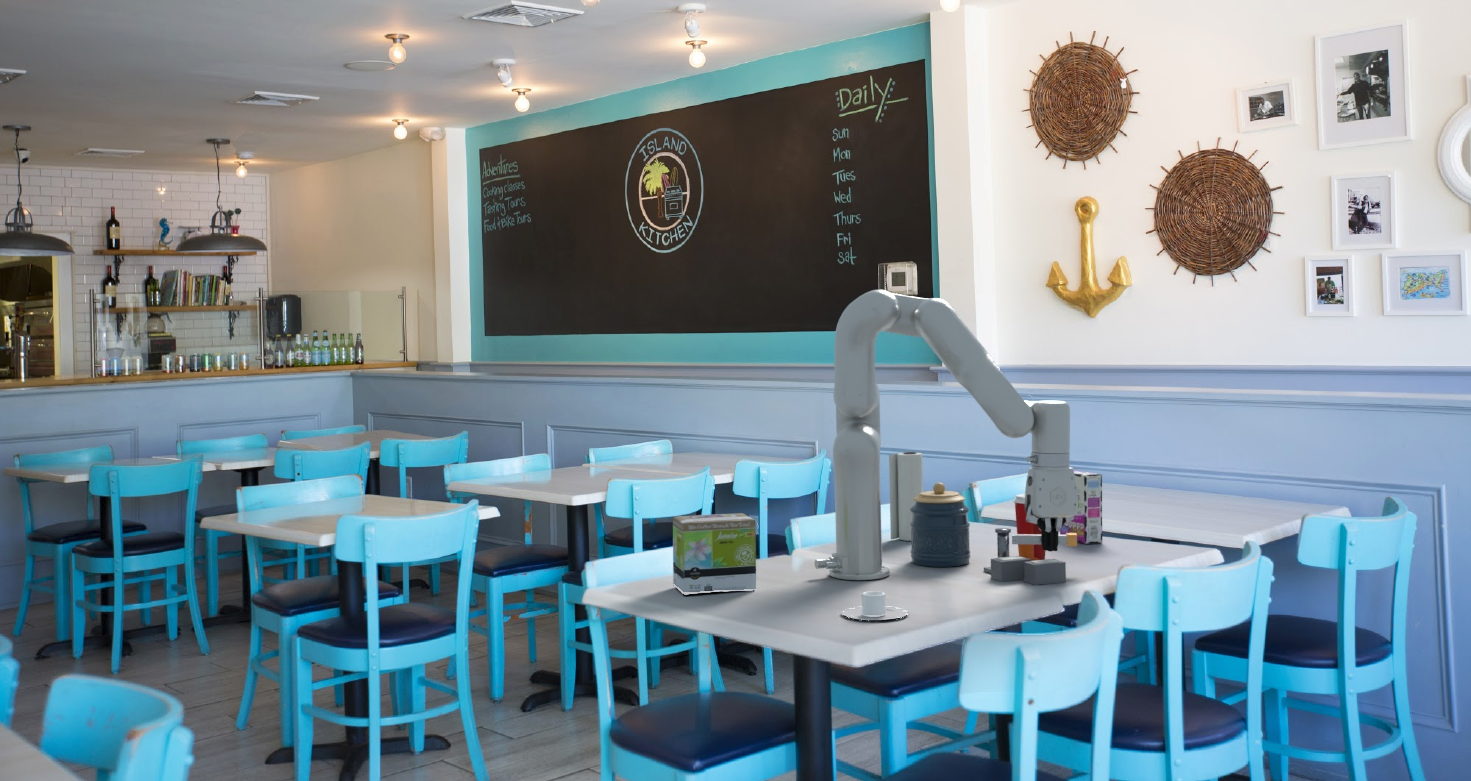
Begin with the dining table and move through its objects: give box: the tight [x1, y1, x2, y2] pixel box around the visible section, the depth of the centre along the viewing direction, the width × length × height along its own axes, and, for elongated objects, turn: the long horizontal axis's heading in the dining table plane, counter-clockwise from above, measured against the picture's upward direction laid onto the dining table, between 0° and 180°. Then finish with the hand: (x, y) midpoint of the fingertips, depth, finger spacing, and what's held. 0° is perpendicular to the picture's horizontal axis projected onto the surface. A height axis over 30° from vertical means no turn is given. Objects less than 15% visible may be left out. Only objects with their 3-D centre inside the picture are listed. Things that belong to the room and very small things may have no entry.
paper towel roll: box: [888, 451, 924, 542], centre depth 293 cm, size 7×6×21 cm
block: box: [990, 555, 1031, 583], centre depth 243 cm, size 7×4×4 cm, turn 109°
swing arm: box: [1011, 533, 1078, 547], centre depth 248 cm, size 13×2×2 cm, turn 79°
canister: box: [910, 482, 971, 568], centre depth 263 cm, size 13×13×18 cm
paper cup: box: [1012, 493, 1047, 561], centre depth 265 cm, size 8×8×14 cm
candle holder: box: [841, 590, 909, 622], centre depth 215 cm, size 12×12×4 cm
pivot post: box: [983, 527, 1012, 574], centre depth 250 cm, size 6×6×9 cm
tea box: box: [672, 512, 757, 592], centre depth 240 cm, size 15×10×15 cm, turn 105°
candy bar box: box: [1059, 470, 1103, 545], centre depth 286 cm, size 11×5×16 cm, turn 17°
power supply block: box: [1023, 558, 1067, 586], centre depth 239 cm, size 7×4×4 cm, turn 109°
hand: (1049, 550), depth 245 cm, fingers closed
